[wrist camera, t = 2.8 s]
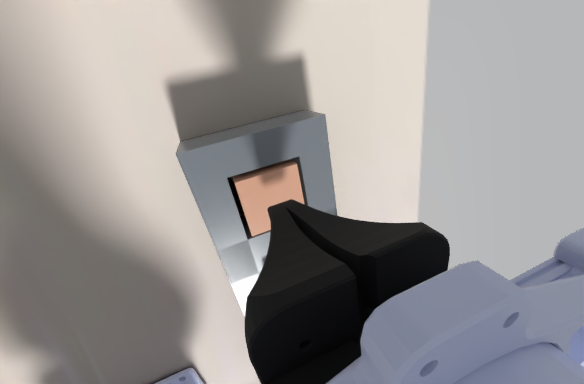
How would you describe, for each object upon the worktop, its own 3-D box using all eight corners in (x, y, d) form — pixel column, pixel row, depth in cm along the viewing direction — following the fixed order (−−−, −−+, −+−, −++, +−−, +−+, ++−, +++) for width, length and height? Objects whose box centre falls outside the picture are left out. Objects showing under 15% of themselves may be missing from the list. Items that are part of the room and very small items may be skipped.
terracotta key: (244, 213, 17) (251, 236, 14) (228, 166, 15) (234, 182, 13) (291, 197, 18) (306, 216, 15) (281, 151, 16) (296, 163, 14)
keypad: (266, 355, 24) (274, 387, 22) (180, 141, 14) (175, 154, 12) (337, 321, 26) (352, 347, 23) (304, 109, 16) (325, 114, 13)
